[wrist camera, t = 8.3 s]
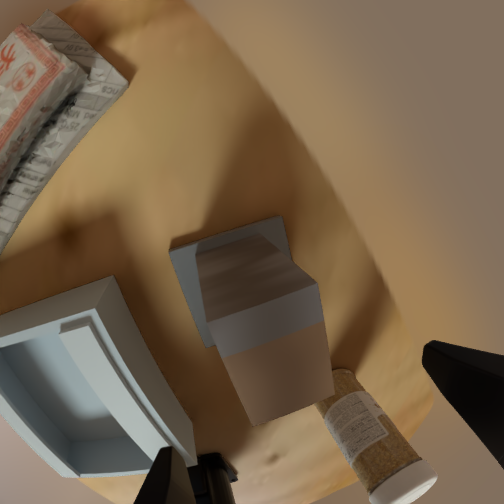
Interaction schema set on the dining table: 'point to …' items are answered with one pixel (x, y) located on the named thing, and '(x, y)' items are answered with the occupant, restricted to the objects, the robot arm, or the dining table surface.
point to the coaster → (185, 254)
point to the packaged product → (46, 108)
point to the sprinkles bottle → (373, 444)
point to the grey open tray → (88, 385)
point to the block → (266, 327)
